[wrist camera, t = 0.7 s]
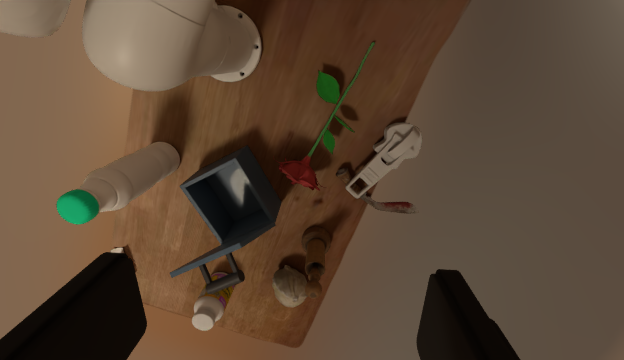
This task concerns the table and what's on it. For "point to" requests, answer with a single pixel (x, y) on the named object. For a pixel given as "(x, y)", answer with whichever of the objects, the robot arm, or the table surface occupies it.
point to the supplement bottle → (211, 305)
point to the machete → (389, 206)
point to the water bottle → (118, 183)
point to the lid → (226, 250)
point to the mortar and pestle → (315, 258)
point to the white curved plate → (117, 250)
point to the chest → (233, 195)
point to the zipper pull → (389, 154)
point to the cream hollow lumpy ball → (289, 286)
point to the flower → (330, 94)
